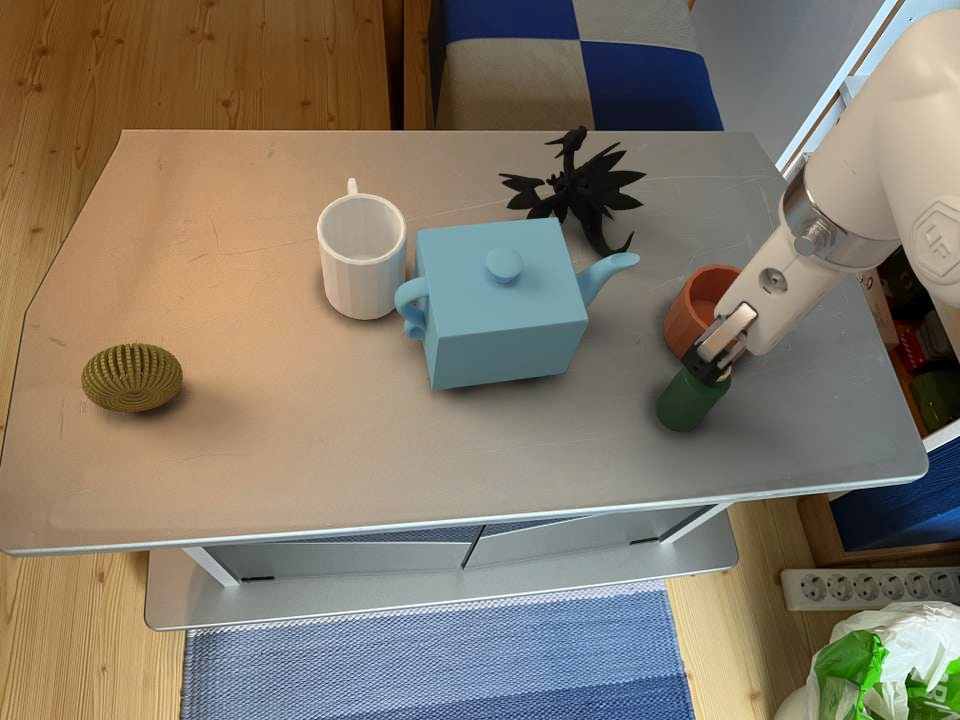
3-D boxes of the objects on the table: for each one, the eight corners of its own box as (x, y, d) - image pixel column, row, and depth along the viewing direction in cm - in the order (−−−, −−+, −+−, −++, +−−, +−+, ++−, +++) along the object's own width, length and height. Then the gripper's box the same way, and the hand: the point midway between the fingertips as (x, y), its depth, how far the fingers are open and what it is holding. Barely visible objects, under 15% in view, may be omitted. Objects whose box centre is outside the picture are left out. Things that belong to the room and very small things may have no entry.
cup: (758, 339, 78) (787, 307, 73) (708, 385, 75) (735, 355, 69) (697, 285, 81) (721, 250, 75) (646, 328, 78) (667, 294, 72)
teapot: (402, 402, 71) (405, 330, 58) (385, 303, 75) (385, 217, 63) (619, 372, 75) (664, 299, 63) (590, 280, 80) (627, 196, 67)
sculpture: (189, 369, 70) (167, 326, 63) (194, 407, 68) (172, 367, 61) (98, 387, 68) (64, 346, 61) (101, 427, 66) (67, 389, 59)
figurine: (535, 270, 87) (488, 261, 77) (530, 162, 87) (482, 140, 77) (671, 255, 79) (637, 244, 69) (665, 136, 79) (631, 108, 69)
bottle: (707, 413, 74) (751, 368, 65) (679, 440, 72) (720, 397, 63) (674, 382, 75) (712, 333, 66) (646, 408, 73) (681, 361, 64)
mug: (391, 220, 80) (391, 156, 72) (411, 314, 75) (414, 257, 66) (315, 229, 79) (306, 164, 70) (330, 325, 74) (323, 268, 65)
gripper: (816, 326, 42) (701, 434, 57) (965, 182, 49) (826, 314, 64) (716, 239, 44) (630, 366, 59) (873, 112, 51) (759, 256, 66)
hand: (732, 339), depth 61 cm, fingers open, 9 cm apart
